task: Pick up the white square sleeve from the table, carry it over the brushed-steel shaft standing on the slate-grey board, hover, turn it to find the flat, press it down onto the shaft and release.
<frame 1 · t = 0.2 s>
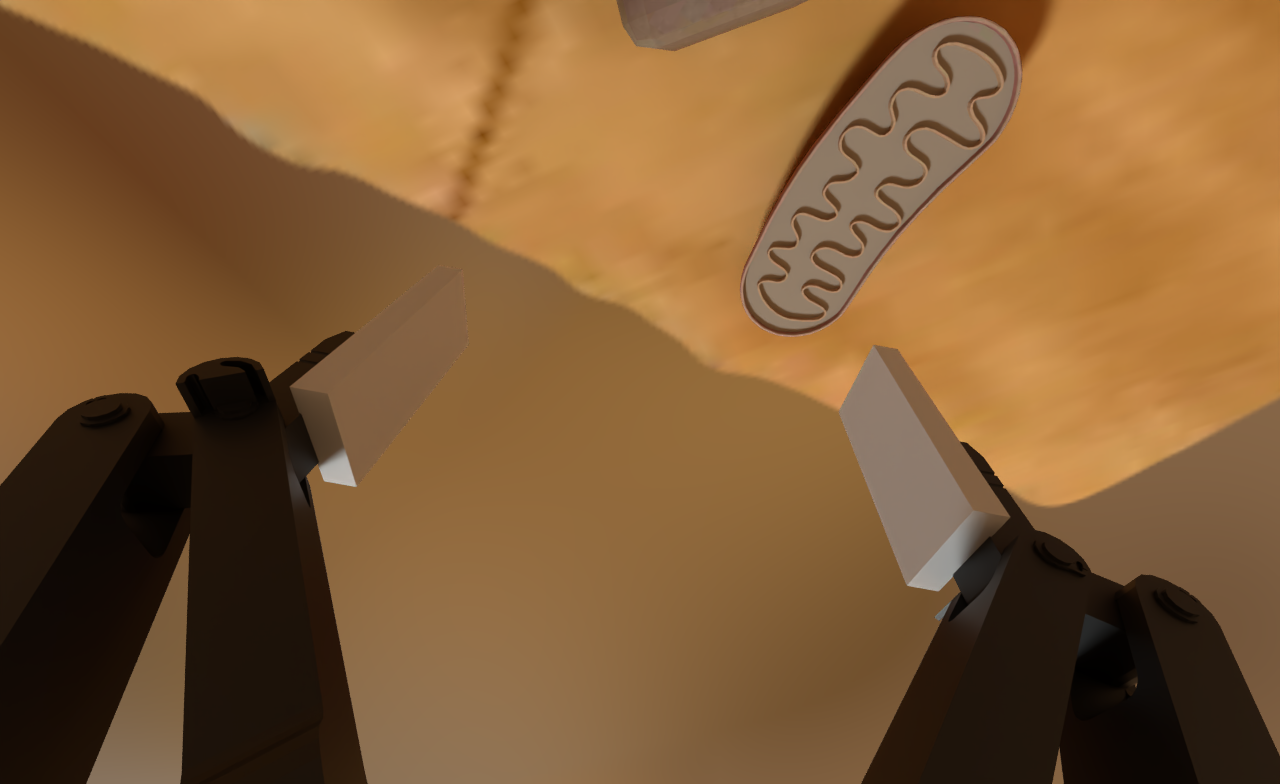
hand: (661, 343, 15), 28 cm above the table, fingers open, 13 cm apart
anatomical model: (838, 188, 38), on the table
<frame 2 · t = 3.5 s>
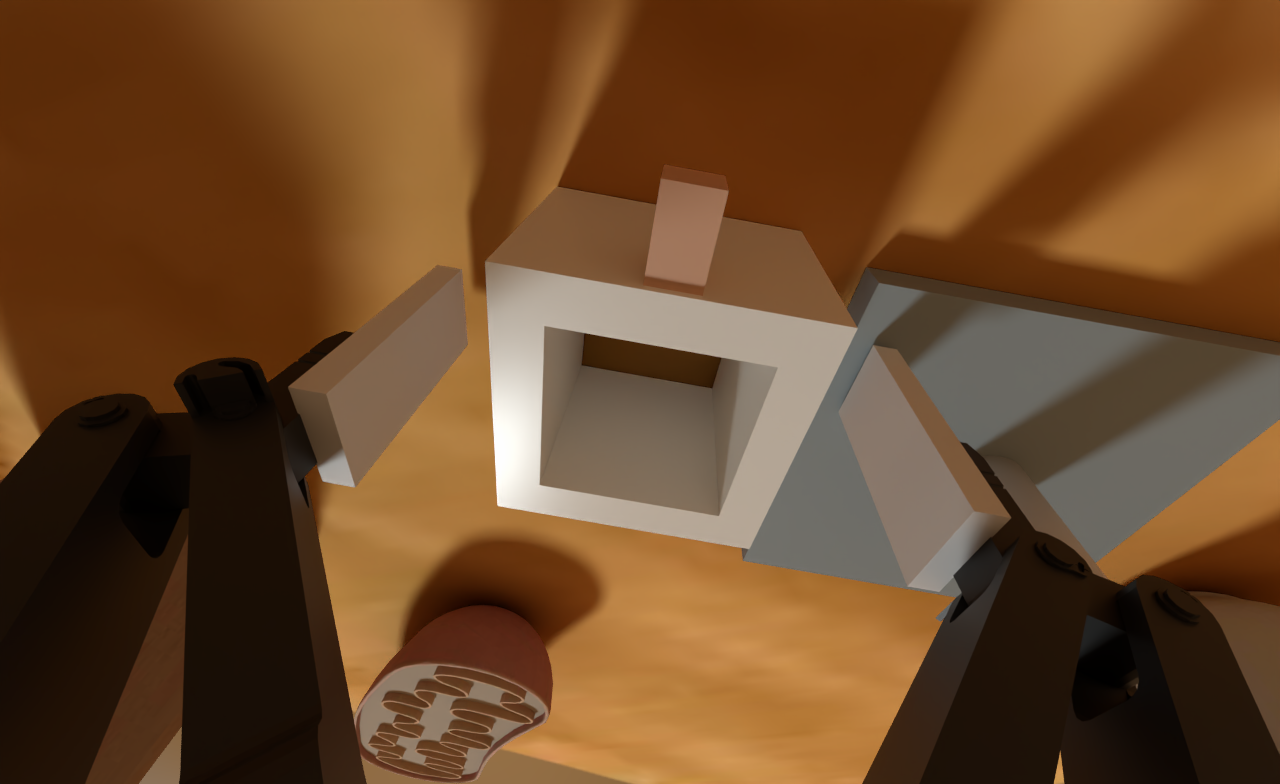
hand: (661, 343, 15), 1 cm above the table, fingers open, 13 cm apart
anatomical model: (465, 650, 34), on the table
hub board: (960, 463, 19), on the table
wooden block: (193, 500, 26), on the table
white square sleeve: (658, 318, 16), on the table
teacup: (1192, 612, 23), on the table
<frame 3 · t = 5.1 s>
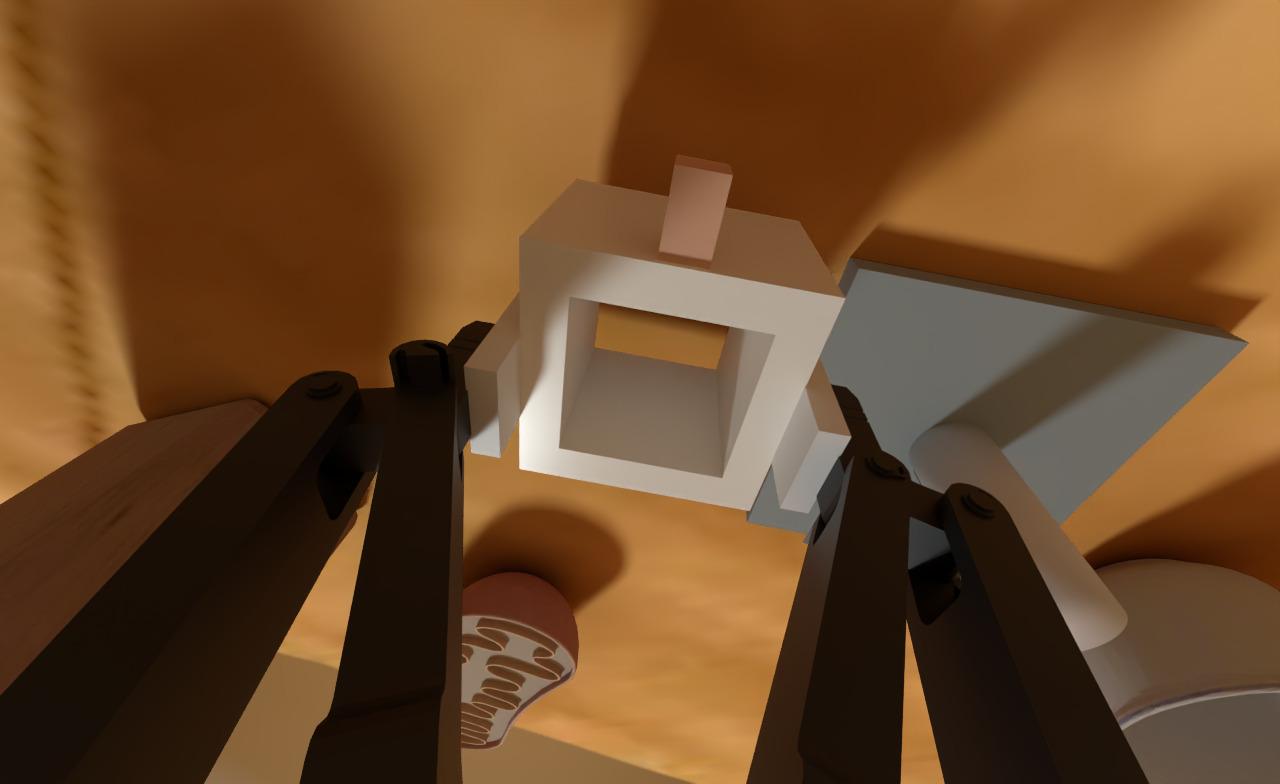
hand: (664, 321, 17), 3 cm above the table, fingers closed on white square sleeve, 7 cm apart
anatomical model: (494, 621, 37), on the table
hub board: (937, 433, 22), on the table
wooden block: (260, 466, 29), on the table
white square sleeve: (666, 302, 17), point 2 cm above the table, touching gripper
teacup: (1157, 581, 26), on the table
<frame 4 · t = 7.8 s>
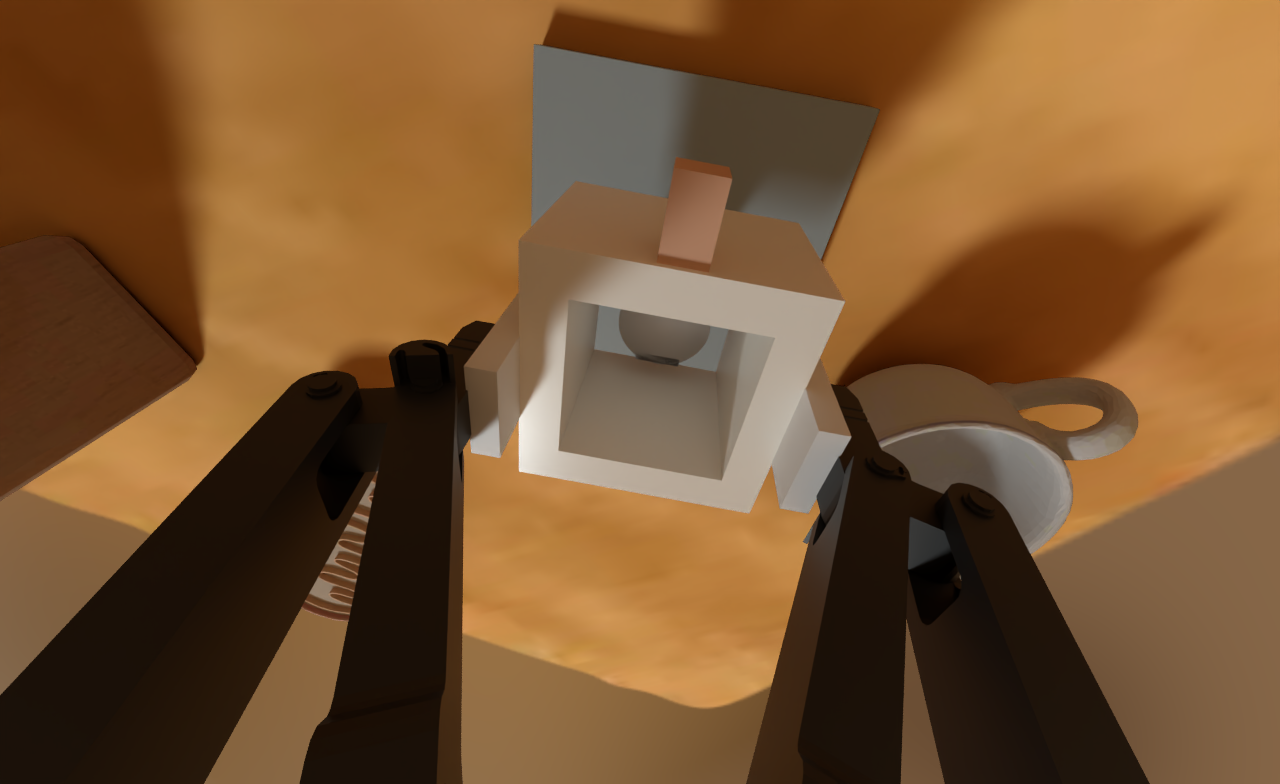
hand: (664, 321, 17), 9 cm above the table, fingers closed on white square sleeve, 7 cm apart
anatomical model: (366, 496, 39), on the table
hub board: (674, 240, 24), on the table
wooden block: (99, 319, 31), on the table
white square sleeve: (666, 304, 17), point 8 cm above the table, touching gripper
teacup: (913, 401, 28), on the table
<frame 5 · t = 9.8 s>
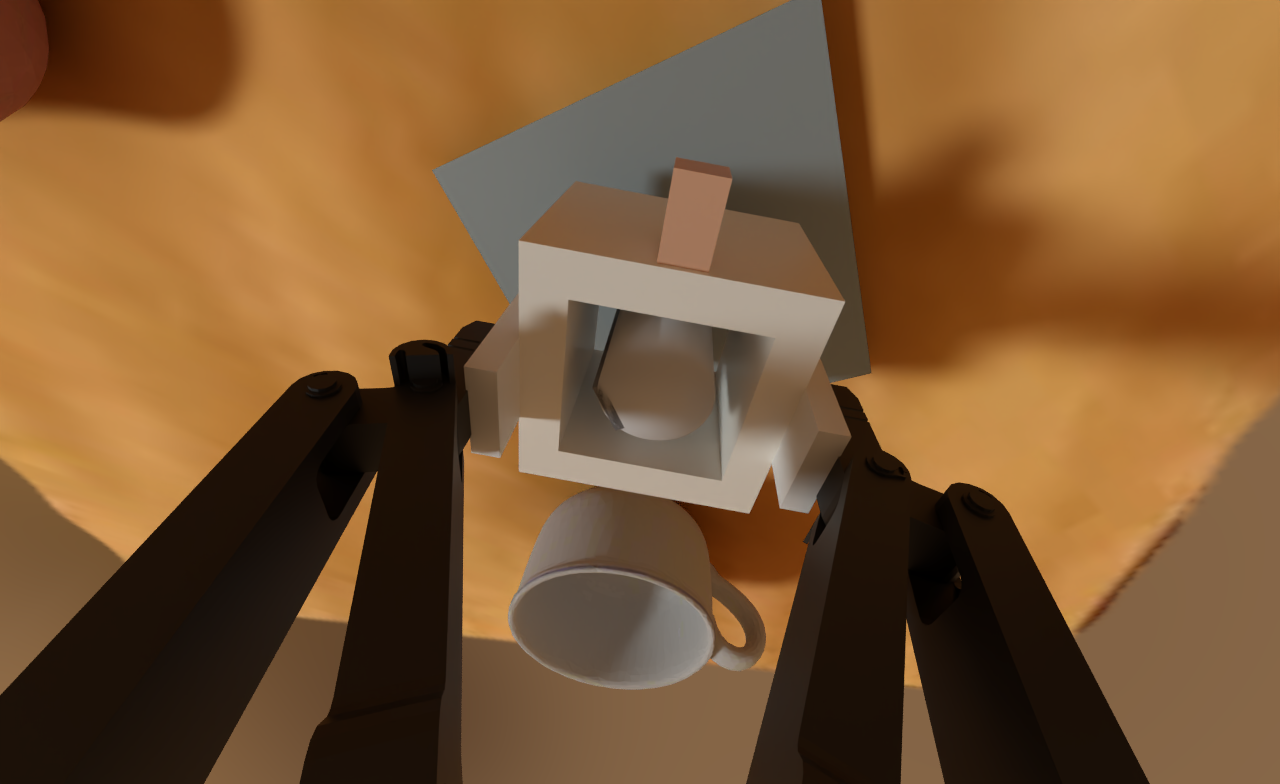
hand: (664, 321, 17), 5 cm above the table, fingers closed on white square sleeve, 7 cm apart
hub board: (671, 269, 20), on the table
white square sleeve: (666, 304, 17), point 3 cm above the table, touching gripper
teacup: (650, 523, 31), on the table
when the fingers open (2 cm above the table, at t = 10.6 s): white square sleeve stays where it is, resting on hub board.
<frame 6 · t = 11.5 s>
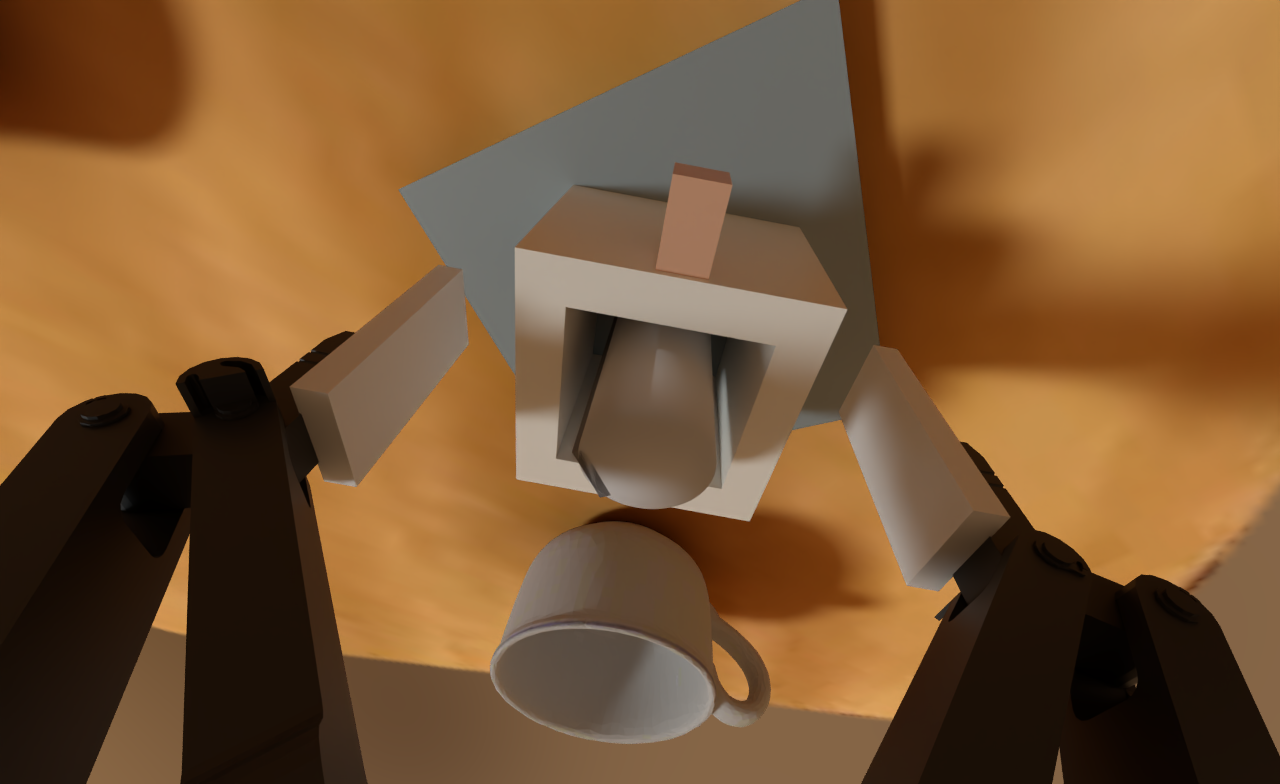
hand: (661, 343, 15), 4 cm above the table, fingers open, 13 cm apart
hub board: (667, 296, 18), on the table
white square sleeve: (665, 309, 17), point 1 cm above the table, touching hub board
teacup: (646, 558, 29), on the table
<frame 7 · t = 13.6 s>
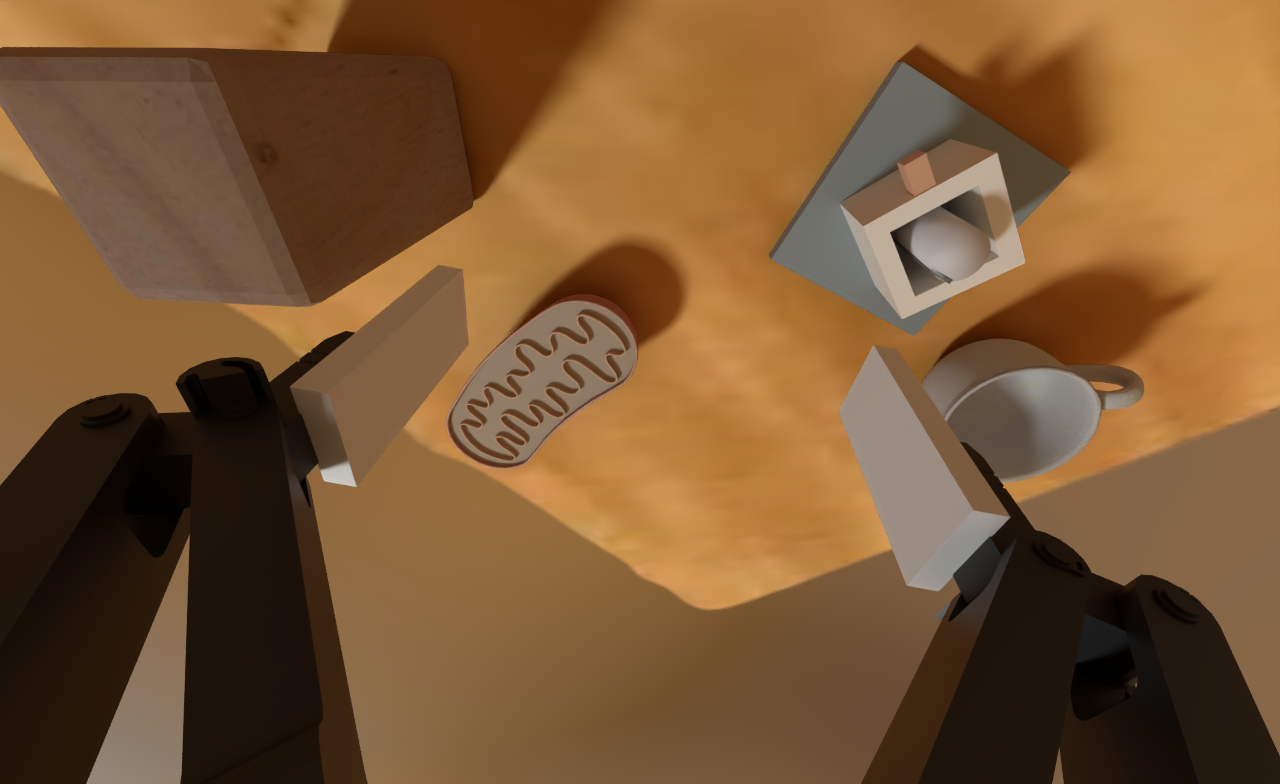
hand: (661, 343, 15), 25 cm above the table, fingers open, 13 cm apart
anatomical model: (546, 363, 46), on the table
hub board: (903, 214, 35), on the table
wooden block: (406, 137, 36), on the table
white square sleeve: (909, 218, 34), point 1 cm above the table, touching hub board
teacup: (988, 371, 42), on the table
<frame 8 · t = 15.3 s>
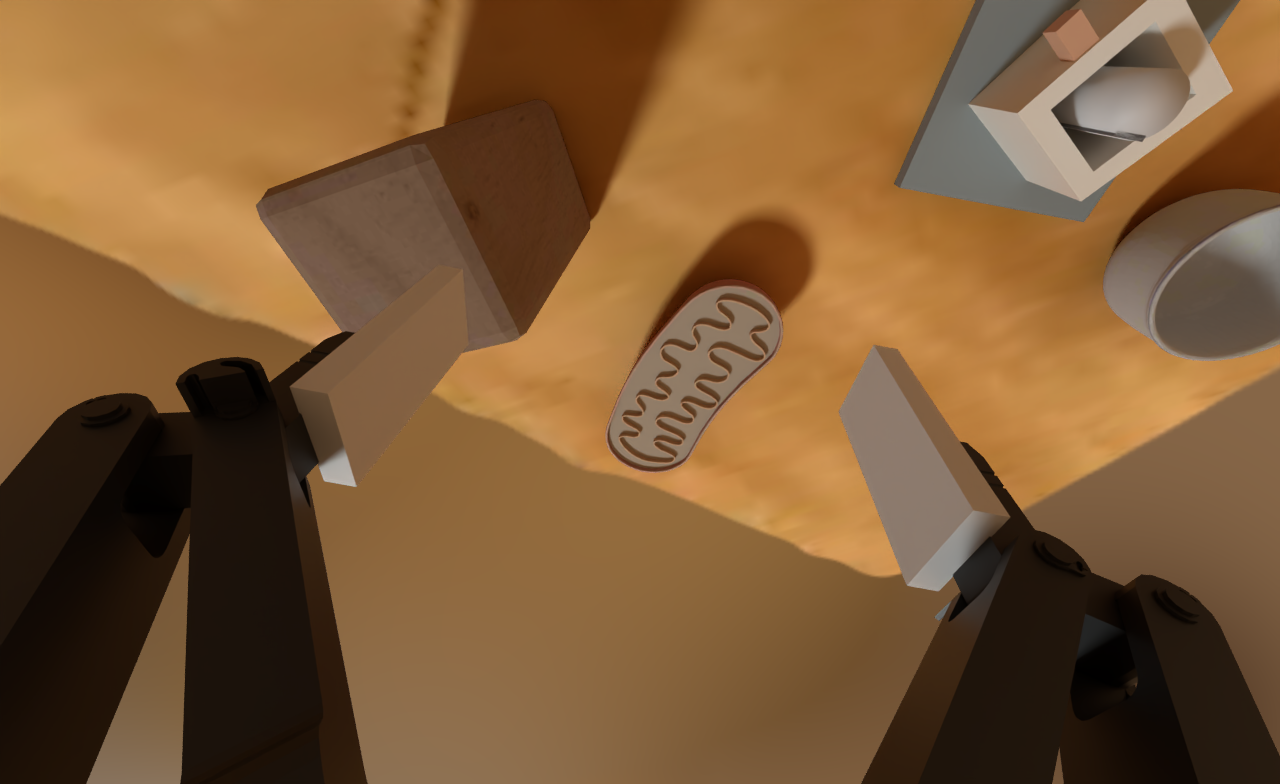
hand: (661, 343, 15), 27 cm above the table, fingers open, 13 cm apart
anatomical model: (683, 361, 47), on the table
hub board: (1044, 93, 32), on the table
wooden block: (520, 183, 39), on the table
white square sleeve: (1055, 94, 31), point 1 cm above the table, touching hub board
teacup: (1185, 237, 36), on the table
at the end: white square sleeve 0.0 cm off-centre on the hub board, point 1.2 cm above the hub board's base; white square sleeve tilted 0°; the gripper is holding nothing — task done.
